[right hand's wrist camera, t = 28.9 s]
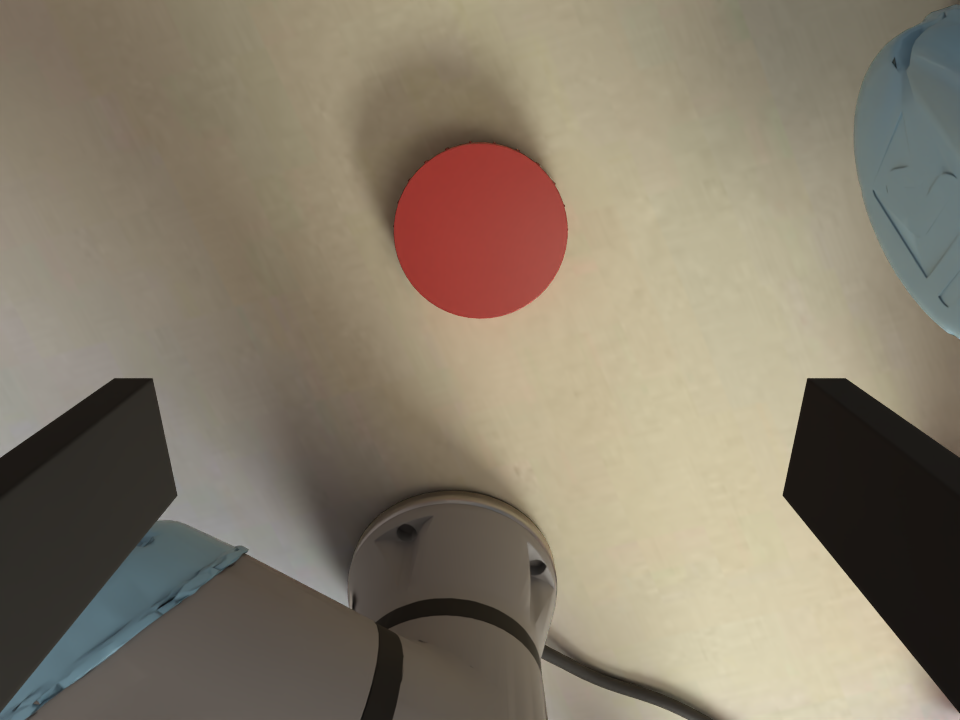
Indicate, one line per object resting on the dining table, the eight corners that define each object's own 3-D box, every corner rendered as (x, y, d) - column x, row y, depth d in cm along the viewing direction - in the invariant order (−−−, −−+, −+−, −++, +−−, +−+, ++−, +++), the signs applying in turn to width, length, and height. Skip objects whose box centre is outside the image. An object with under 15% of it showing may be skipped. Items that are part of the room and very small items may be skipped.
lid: (384, 151, 35) (378, 153, 33) (557, 130, 35) (562, 130, 32) (411, 316, 39) (407, 327, 36) (568, 298, 38) (574, 309, 36)
